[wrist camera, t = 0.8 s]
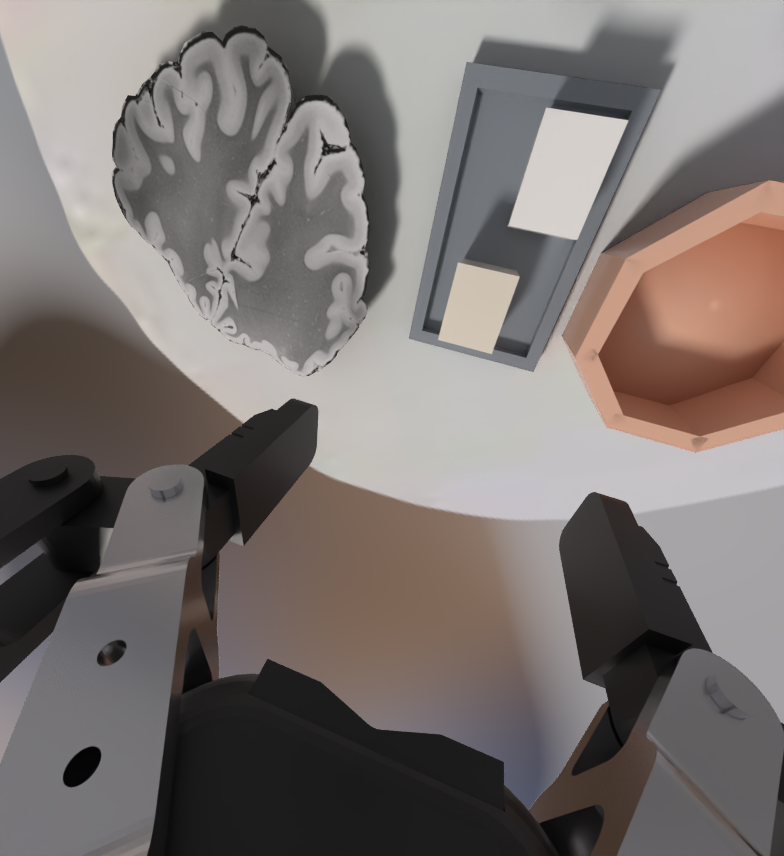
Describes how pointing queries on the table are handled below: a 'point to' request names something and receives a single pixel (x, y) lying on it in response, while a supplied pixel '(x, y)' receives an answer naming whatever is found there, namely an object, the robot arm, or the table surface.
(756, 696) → the robot arm
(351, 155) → the brain slice
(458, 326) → the stone
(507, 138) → the tray
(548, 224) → the stone
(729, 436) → the bowl
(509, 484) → the table surface
